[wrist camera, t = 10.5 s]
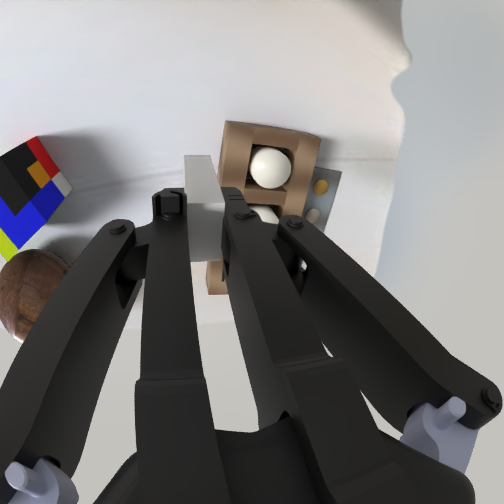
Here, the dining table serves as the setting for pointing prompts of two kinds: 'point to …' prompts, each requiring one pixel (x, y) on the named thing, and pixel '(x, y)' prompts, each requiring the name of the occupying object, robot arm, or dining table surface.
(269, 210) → the middle button
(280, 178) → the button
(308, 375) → the robot arm
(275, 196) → the button board
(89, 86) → the dining table surface
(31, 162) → the puzzle toy
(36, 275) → the wooden sphere
